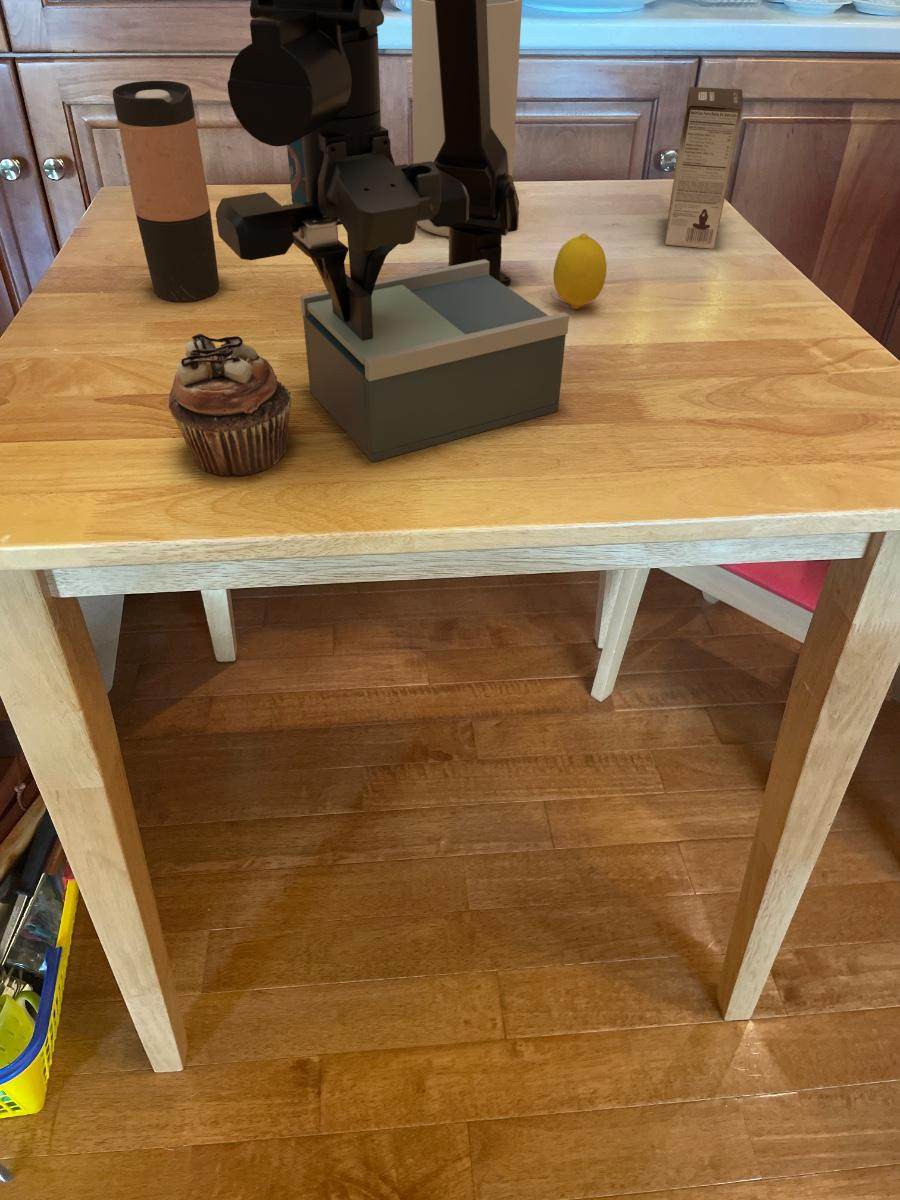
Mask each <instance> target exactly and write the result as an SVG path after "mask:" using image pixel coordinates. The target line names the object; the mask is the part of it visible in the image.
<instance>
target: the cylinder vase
mask: <svg viewBox="0 0 900 1200" xmlns="http://www.w3.org/2000/svg"><path fill="white" fill-rule="evenodd" d="M410 3H411V7H410V8H411V75H412V76H411V81H412V82H411V83H412V84H411V85H412V86H411V87H412V91H411V92H412V159H413V160H412V162H413V163H412V164H415V163H422V162H429V161H432V162H434V160H435V158H436V156H437V155H438V153H439V151H440V149H441V147H442V145H443V143H444V141H445V134H444V120H443V107H442V94H441V80H440V67H439V54H438V40H437V27H436V13H435V0H411V1H410ZM522 10H523V0H487V30H488V60H489V91H490V121H491V128H492V130H493V131H494V133H495V134H496V136H497V137H498V139H499V140H500V142H501V143H502V145H503V146H504V148H505V149H506V151H507V158H508V171H509V175H511V176H512V177H513V175H514V173H513V172H514V157H515V156H514V154H515V137H516V119H517V117H516V116H517V101H518V84H519V83H518V82H519V64H520V47H521V42H520V41H521V30H522V29H521V28H522ZM499 214H500V213H499ZM417 225H418V226H419V227H420V228H421V229H423V231H426V232H429V233H431V234H433V235H438V236H441V237H448V238H449V227H444V226H442V227H436V226H433V224H432V223H431V222H430V221H429V220H422V221H417Z"/></svg>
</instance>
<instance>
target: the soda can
mask: <svg viewBox="0 0 900 1200" xmlns="http://www.w3.org/2000/svg"><path fill="white" fill-rule="evenodd" d="M286 149H287V150H286V151H287V160H288V161H287V162H288V171H289V172H288V173H289V183H290V195H291V204H296V203H303V202H307V196H306V195H305V194H303V193H302V192H301V184H300V178H303V177H305V169H304V157H303V145H302V138H301V139H299V140H297V141H295V142H293V143H291V144H289V145H286Z"/></svg>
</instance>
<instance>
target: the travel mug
mask: <svg viewBox="0 0 900 1200" xmlns="http://www.w3.org/2000/svg"><path fill="white" fill-rule="evenodd" d="M112 99H113V104H114V110H115V115H116V119H117V120H116V121H117V125H118V130H119V131H118V132H119V136H120V140H121V146H122V150H123V155H124V156H123V157H124V160H125V161H124V162H125V165H126V171H127V176H128V181H129V186H130V191H131V197H132V201H133V207H134V212H135V218H136V222H137V226H138V230H139V234H140V238H141V242H142V246H143V250H144V255H145V259H146V264H147V267H148V268H147V269H148V271H149V276H150V280H151V284H152V289H153V292H154V294H155V295H156V297H158V298H160V299H162V300H164V301H167V302H175V303H187V302H195V301H200V300H204V299H207V298H209V297H211V296H213V295H215V294H216V293H217V292H218V291H219V289H220V280H219V270H218V264H217V263H218V262H217V255H216V245H215V239H214V238H215V237H214V230H213V229H214V228H213V222H212V212H211V205H210V200H209V193H208V187H207V181H206V175H205V168H204V162H203V156H202V150H201V144H200V138H199V137H200V136H199V132H198V131H199V130H198V125H197V119H196V113H195V107H194V100H193V94H192V89H191V87H190V85H188V84H186V83H184V82H180V81H174V80H173V81H172V80H141V81H134V82H128V83H125V84H121V85H118V86H116V87H115V88H113V90H112Z"/></svg>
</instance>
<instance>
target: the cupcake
mask: <svg viewBox="0 0 900 1200" xmlns="http://www.w3.org/2000/svg"><path fill="white" fill-rule="evenodd" d="M190 338H191V340H190V341H188V342H187V343H186V345H185V356H186V357H184V358H182V359H181V361H180V363H179V364H177V372H176V373H175V375H174V378H173V382H172V387H171V390H170V392H169V395H168V409H169V410H170V413H171V416H172V418H173V420H174V421H175V423H176V424H177V427H178V428H179V430H180V432H181V434H182V436H183V439H184V441H185V444H186V446H187V448H188V450H189V453H190V455H191V457H192V460H193V461H194V463H195V465H196V466H197V467H198V468H199V470H202V471H204V472H205V473H206V472H207V473H208V474H210V475H211V474H212V475H215V476H218V477H244V476H251V475H252V476H253V475H255V474H258V473H260V472H263V471H267V470H268V469H271V468H272V467H273V466H275V465H276V464H277V463H278V462H280V461H281V460H282V459H283V456H284V455H286V451H287V446H288V445H287V444H288V434H289V421H290V414H291V413H290V412H291V406H292V397H291V394H292V393H291V392H290V391H289V390H290V389H289V388H287V387H286V385H285V384H282V382H280V381H278V377H277V375H276V373H275V371H274V368H273V367H272V365H271V364H270V362H269V361H268V360H266V358H263V357H261V356H260V355H259V354H258V352H257V351H256V349H255V348H253V347H252V346H249V345H248V344H246V343H244V340H243V339H242V338H241V337H240V336H239V335H235V336H225V337H221V338H212V337H208V336H207V335H204V334H202V333H198V334H195V335H192V336H191V337H190ZM214 342H215V343H222V344H220V347H216V345H215V343H214Z"/></svg>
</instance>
